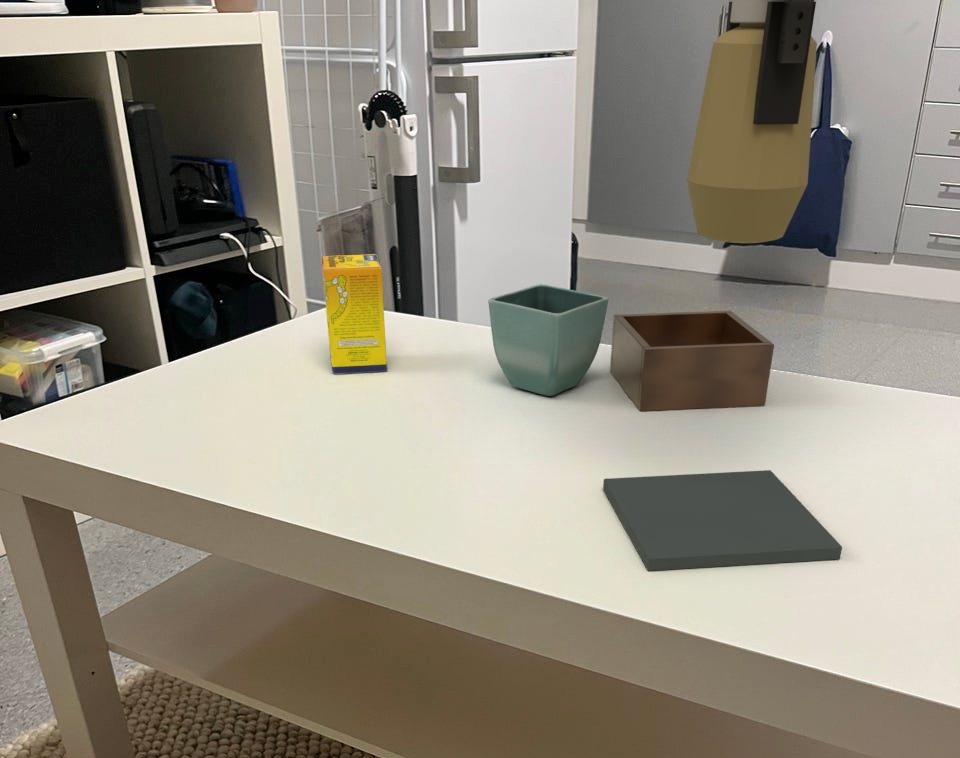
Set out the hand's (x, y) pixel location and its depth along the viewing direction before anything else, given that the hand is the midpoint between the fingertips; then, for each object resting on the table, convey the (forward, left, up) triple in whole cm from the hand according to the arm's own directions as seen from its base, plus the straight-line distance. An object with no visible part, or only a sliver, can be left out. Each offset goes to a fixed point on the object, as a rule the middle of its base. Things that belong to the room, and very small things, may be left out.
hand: (755, 117), depth 67 cm
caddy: (-6, -26, -27) cm, 38 cm away
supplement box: (+27, -38, -27) cm, 54 cm away
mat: (+1, +5, -27) cm, 27 cm away
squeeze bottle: (0, 0, -8) cm, 8 cm away
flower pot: (+8, -28, -27) cm, 40 cm away
